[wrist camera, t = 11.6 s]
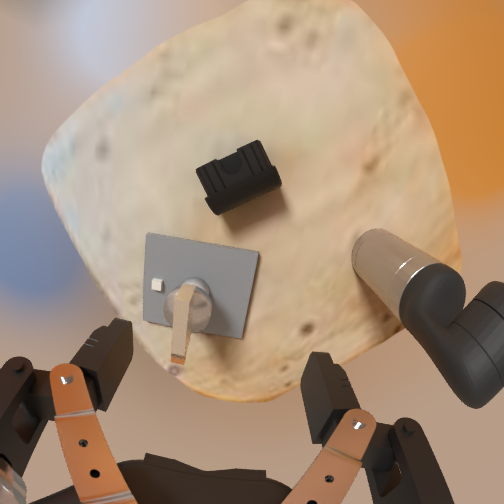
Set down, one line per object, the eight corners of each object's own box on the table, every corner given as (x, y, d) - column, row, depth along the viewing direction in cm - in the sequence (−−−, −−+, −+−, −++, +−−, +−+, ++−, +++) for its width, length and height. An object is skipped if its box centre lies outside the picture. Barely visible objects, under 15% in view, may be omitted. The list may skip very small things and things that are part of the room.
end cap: (219, 211, 43) (214, 219, 37) (199, 170, 41) (190, 171, 35) (279, 183, 42) (285, 187, 35) (259, 141, 40) (261, 137, 33)
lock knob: (169, 273, 39) (154, 295, 32) (216, 281, 39) (210, 306, 33) (165, 330, 42) (153, 358, 35) (207, 338, 42) (201, 368, 35)
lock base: (258, 251, 45) (260, 264, 39) (241, 334, 50) (240, 355, 44) (148, 232, 44) (134, 243, 38) (144, 317, 48) (134, 335, 42)
